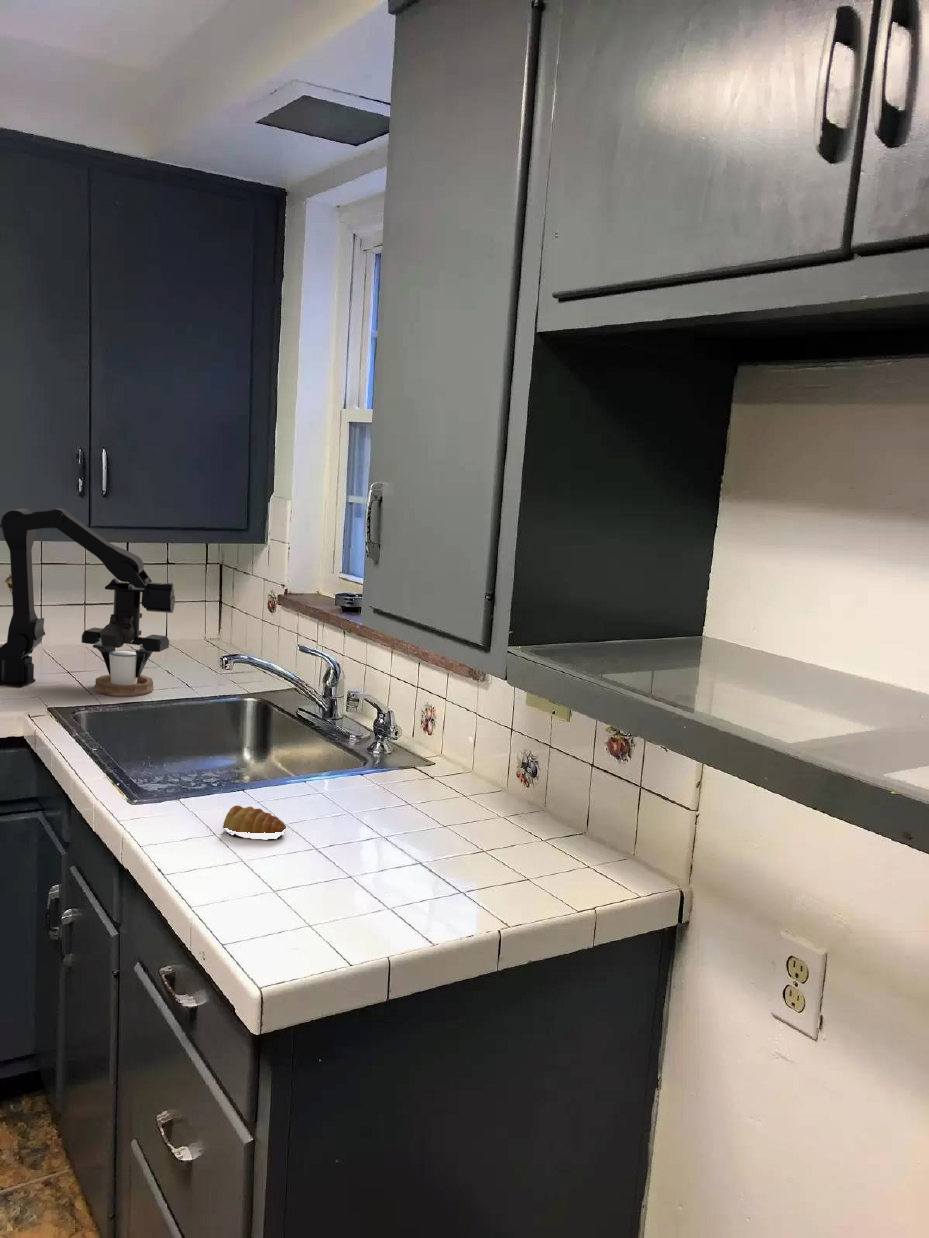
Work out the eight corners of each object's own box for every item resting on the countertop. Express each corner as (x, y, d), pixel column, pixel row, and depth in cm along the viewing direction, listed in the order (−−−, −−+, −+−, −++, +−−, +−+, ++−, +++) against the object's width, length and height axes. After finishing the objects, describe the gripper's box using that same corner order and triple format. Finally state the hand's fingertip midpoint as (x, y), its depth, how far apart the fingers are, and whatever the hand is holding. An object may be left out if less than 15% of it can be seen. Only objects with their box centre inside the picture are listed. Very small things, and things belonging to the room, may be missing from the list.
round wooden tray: (83, 692, 222) (83, 683, 221) (110, 680, 234) (110, 671, 234) (138, 699, 220) (138, 689, 220) (162, 686, 233) (163, 677, 233)
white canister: (144, 680, 230) (145, 651, 229) (131, 687, 223) (132, 657, 222) (116, 677, 231) (117, 648, 229) (102, 683, 224) (103, 654, 223)
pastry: (292, 831, 156) (293, 808, 155) (274, 847, 149) (275, 823, 148) (237, 821, 158) (238, 798, 157) (218, 836, 151) (219, 813, 150)
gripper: (70, 610, 217) (68, 678, 220) (150, 619, 215) (147, 688, 218) (94, 603, 228) (92, 668, 231) (171, 612, 226) (168, 677, 229)
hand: (124, 675), depth 227 cm, fingers closed on white canister, 6 cm apart
